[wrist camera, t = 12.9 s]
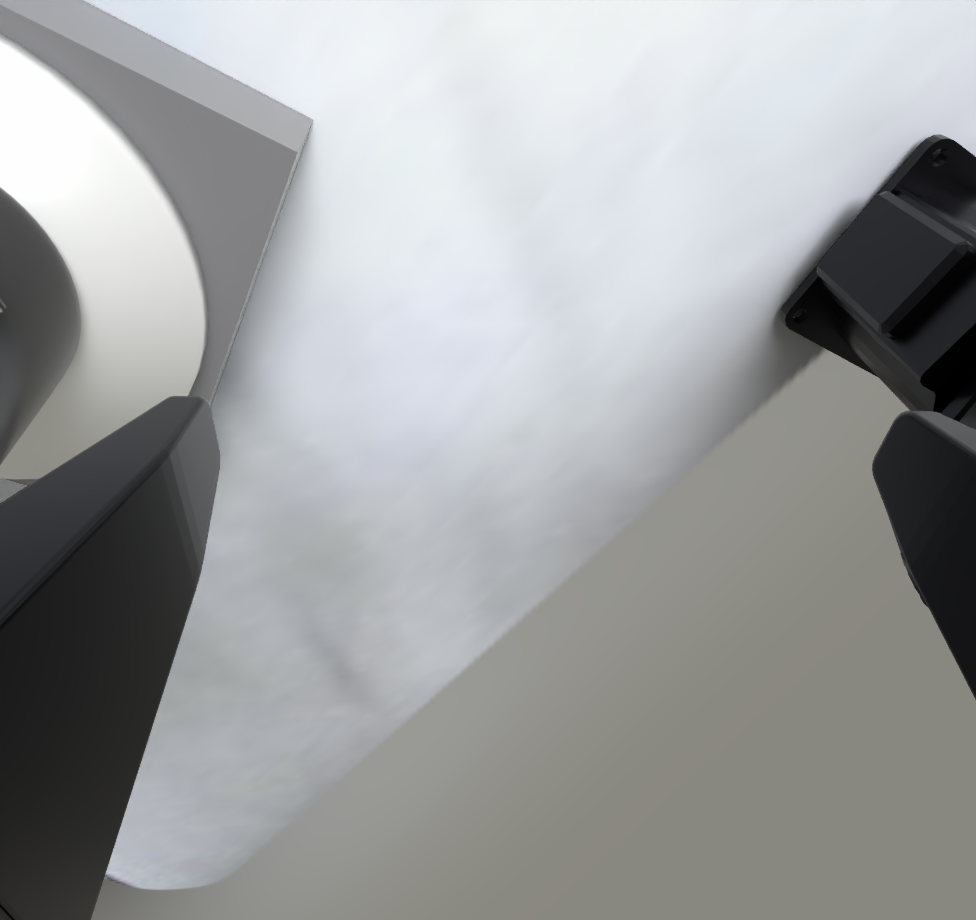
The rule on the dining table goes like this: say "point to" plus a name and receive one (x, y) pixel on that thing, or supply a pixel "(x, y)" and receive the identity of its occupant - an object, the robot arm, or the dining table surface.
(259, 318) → the dining table surface
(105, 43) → the kitchen scale
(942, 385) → the robot arm
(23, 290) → the supplement bottle
